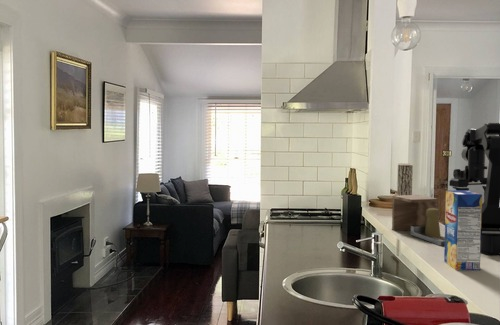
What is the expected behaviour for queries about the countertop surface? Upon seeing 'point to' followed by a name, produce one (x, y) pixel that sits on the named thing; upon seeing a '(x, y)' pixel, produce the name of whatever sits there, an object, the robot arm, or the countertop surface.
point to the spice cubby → (411, 210)
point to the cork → (432, 223)
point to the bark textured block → (404, 179)
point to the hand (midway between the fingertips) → (475, 205)
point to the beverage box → (463, 229)
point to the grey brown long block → (420, 233)
